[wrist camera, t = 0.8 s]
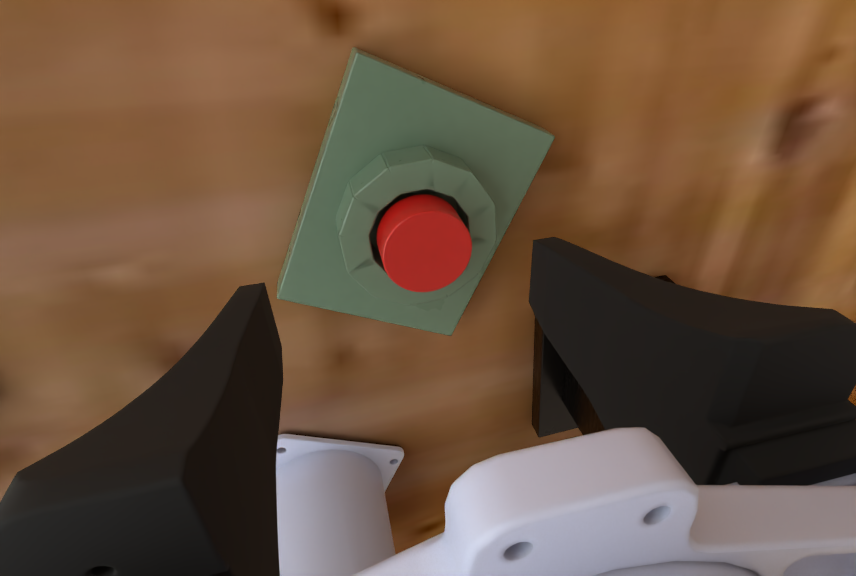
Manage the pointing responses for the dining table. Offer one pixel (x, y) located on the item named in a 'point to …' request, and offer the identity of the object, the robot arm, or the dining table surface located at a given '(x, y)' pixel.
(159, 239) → the dining table surface
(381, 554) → the robot arm
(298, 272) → the switch box
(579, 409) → the switch bracket
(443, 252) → the button
